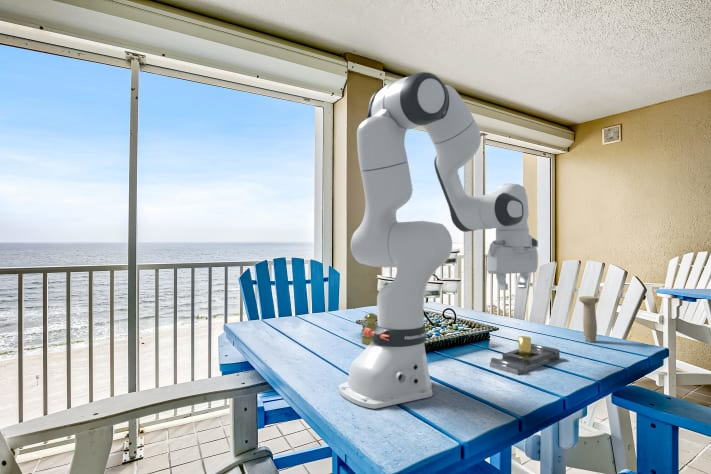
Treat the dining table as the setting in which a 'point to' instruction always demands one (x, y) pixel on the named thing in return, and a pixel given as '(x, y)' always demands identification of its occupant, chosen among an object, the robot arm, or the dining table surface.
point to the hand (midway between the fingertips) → (513, 289)
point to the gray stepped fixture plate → (514, 365)
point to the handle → (589, 317)
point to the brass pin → (524, 346)
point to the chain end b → (534, 355)
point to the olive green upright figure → (371, 325)
